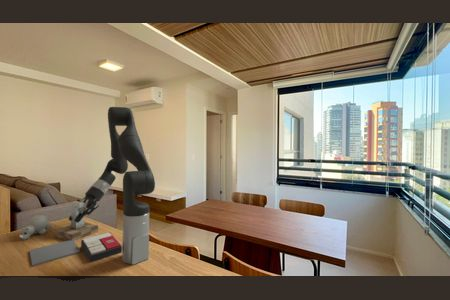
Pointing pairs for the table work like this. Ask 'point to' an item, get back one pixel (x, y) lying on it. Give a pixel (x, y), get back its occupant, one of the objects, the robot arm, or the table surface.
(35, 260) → the mat
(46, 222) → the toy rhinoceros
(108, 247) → the calculator
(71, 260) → the table surface
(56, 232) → the block
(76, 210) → the t key
